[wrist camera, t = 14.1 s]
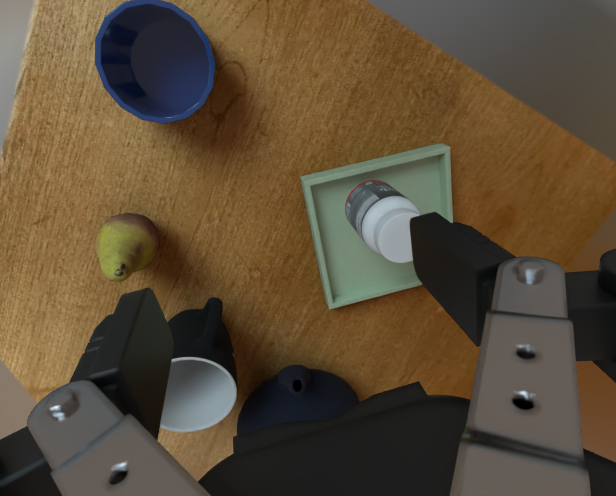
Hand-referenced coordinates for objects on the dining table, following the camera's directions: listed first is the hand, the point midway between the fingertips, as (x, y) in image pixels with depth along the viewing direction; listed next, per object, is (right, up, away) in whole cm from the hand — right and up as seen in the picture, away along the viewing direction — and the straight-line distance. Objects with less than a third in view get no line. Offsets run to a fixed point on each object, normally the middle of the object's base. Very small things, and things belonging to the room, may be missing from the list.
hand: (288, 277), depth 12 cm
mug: (-12, -7, +34) cm, 36 cm away
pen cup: (-12, +17, +23) cm, 31 cm away
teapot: (-1, -19, +41) cm, 45 cm away
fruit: (-17, +3, +28) cm, 33 cm away
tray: (+9, +3, +33) cm, 34 cm away
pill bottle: (+7, +6, +31) cm, 32 cm away
